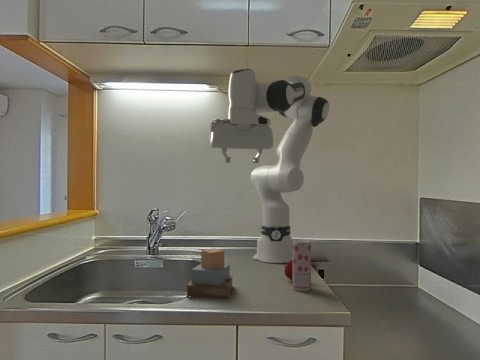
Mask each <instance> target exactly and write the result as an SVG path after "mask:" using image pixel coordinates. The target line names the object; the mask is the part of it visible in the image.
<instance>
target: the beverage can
mask: <svg viewBox="0 0 480 360" xmlns="http://www.w3.org/2000/svg"><path fill="white" fill-rule="evenodd" d="M293 240H294V241H293V273H292V281H291V283H292V285H291V287H292V289H293V290H294V291H298V292H309V291H310V290H311V289H312V275H311V274H312V243H311V240H308V239H304V238H303V239H302V238H301V239H293Z"/></svg>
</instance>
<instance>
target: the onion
mask: <svg viewBox="0 0 480 360" xmlns="http://www.w3.org/2000/svg"><path fill="white" fill-rule="evenodd" d="M283 272H284V275H285V276H286V278H287V279H288V280H290V281H291V282H292V273H293V258H292V260H290V261H289V262H286V263H285V266H284V270H283Z"/></svg>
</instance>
